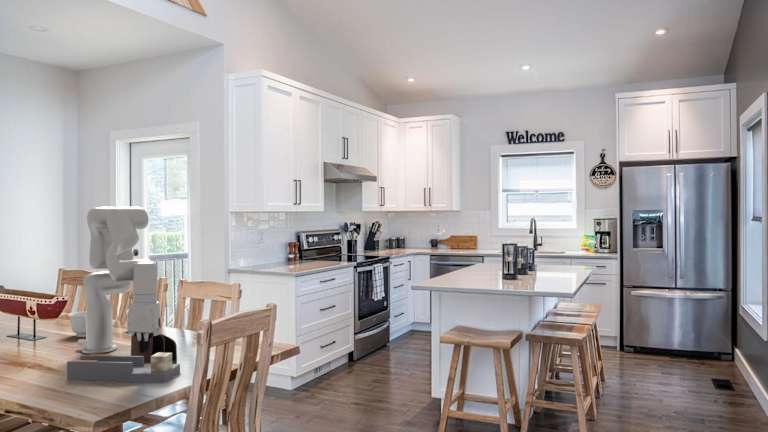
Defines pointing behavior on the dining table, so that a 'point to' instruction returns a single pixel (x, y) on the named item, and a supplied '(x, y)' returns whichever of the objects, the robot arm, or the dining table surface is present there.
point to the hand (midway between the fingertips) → (144, 351)
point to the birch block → (161, 361)
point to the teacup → (78, 323)
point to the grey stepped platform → (117, 369)
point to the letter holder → (155, 347)
